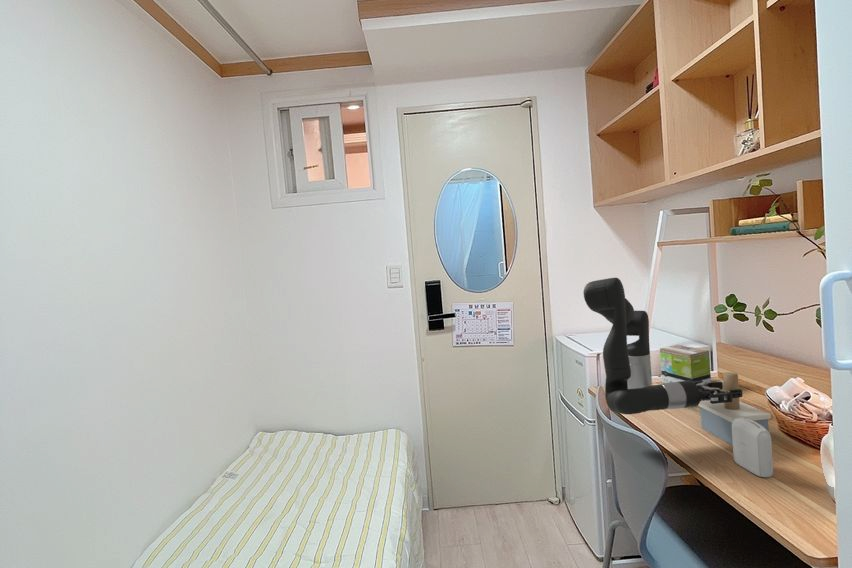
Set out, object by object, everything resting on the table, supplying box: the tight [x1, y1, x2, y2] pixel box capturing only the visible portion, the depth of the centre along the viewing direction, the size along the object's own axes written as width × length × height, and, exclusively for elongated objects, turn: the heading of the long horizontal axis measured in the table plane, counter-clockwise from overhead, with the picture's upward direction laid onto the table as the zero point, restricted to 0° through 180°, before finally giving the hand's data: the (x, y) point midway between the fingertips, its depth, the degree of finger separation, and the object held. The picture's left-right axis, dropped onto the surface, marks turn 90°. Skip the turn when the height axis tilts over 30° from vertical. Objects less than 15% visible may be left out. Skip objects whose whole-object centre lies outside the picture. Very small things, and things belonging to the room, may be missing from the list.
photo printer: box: [732, 418, 774, 478], centre depth 124 cm, size 10×4×12 cm, turn 3°
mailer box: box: [699, 407, 770, 447], centre depth 145 cm, size 15×10×7 cm, turn 3°
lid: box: [697, 371, 772, 423], centre depth 144 cm, size 16×11×11 cm
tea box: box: [659, 344, 712, 384], centre depth 195 cm, size 15×10×15 cm, turn 21°
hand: (731, 388), depth 144 cm, fingers open, 8 cm apart
